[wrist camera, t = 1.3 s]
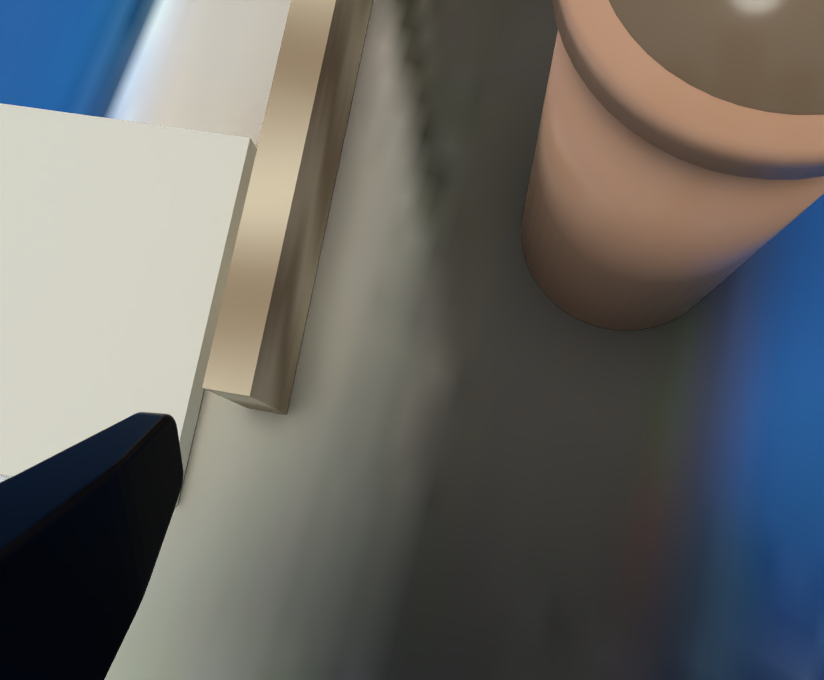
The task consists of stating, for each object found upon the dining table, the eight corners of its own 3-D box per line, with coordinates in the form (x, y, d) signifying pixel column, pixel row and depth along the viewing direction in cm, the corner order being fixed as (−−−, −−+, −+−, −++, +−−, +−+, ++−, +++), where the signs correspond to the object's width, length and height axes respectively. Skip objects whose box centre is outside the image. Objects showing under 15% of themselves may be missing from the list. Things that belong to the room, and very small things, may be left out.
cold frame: (967, 532, 21) (1209, 546, 14) (246, 407, 23) (154, 366, 16) (990, -55, 24) (1194, -273, 18) (362, -119, 26) (325, -337, 20)
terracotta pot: (785, 241, 23) (1153, -62, 11) (616, 387, 22) (799, 244, 10) (627, 88, 24) (794, -340, 12) (465, 222, 24) (464, -82, 11)
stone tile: (177, 505, 23) (164, 505, 22) (-171, 439, 24) (-198, 436, 23) (258, 152, 25) (249, 137, 24) (-65, 107, 26) (-86, 91, 25)
